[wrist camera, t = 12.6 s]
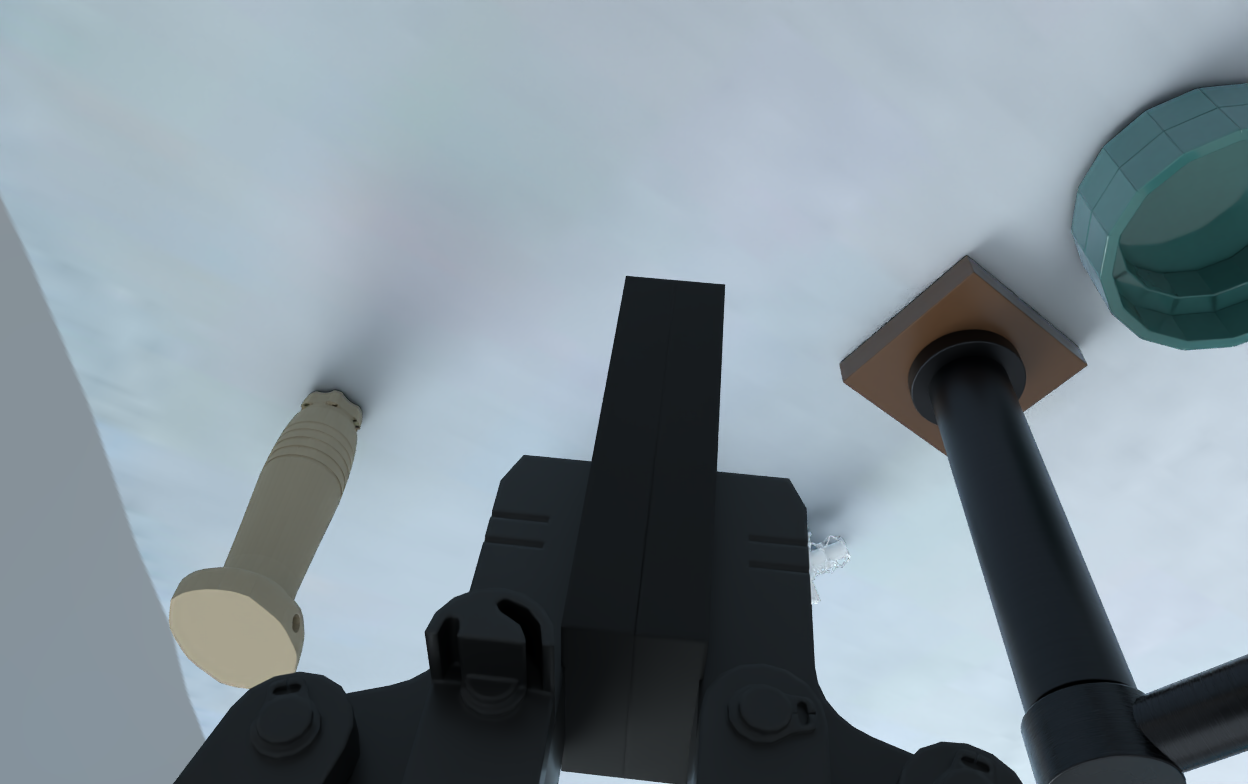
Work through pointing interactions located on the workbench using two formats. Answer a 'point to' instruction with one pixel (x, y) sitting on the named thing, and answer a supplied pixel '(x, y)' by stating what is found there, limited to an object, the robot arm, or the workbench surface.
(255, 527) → the handle
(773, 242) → the workbench surface
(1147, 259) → the basin
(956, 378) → the black post
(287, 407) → the workbench surface
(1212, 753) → the spout
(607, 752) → the robot arm
